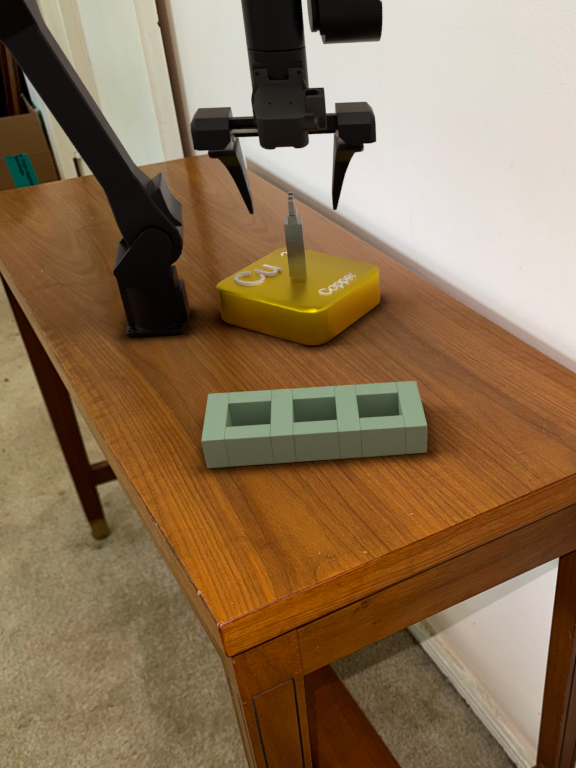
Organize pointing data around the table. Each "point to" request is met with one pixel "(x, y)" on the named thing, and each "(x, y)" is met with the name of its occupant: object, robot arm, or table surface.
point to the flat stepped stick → (294, 240)
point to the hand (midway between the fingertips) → (293, 211)
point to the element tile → (299, 296)
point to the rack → (313, 424)
